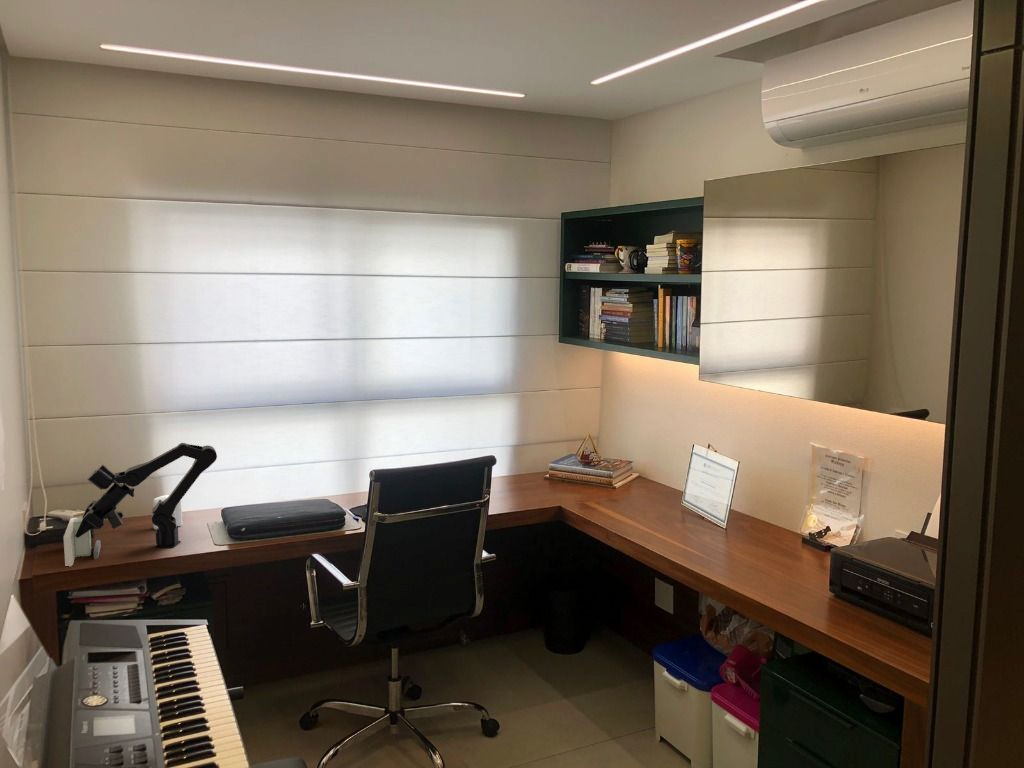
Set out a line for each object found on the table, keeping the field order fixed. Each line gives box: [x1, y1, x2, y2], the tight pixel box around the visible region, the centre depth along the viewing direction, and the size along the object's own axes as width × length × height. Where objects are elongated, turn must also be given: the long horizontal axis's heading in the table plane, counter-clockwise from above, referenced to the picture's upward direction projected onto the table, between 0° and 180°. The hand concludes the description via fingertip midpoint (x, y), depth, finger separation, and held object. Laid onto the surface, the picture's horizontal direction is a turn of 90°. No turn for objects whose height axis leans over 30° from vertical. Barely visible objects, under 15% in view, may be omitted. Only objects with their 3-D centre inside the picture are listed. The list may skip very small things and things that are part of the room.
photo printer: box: [152, 494, 183, 530], centre depth 313 cm, size 10×4×12 cm, turn 123°
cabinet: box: [73, 517, 93, 558], centre depth 280 cm, size 5×5×12 cm
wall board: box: [63, 517, 102, 567], centre depth 280 cm, size 9×24×10 cm, turn 23°
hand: (77, 533), depth 280 cm, fingers open, 9 cm apart
